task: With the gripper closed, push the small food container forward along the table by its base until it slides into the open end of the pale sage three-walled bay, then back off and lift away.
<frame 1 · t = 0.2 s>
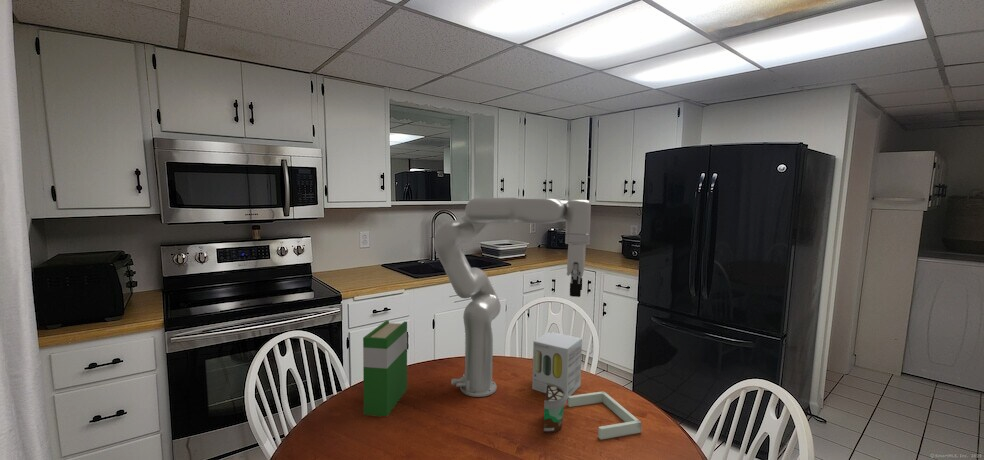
hand: (576, 293, 126), 37 cm above the table, tool pointing down, fingers open, 9 cm apart
hardback book: (386, 402, 129), on the table
bay: (600, 418, 121), on the table
supplement box: (556, 388, 141), on the table
food container: (555, 426, 116), on the table
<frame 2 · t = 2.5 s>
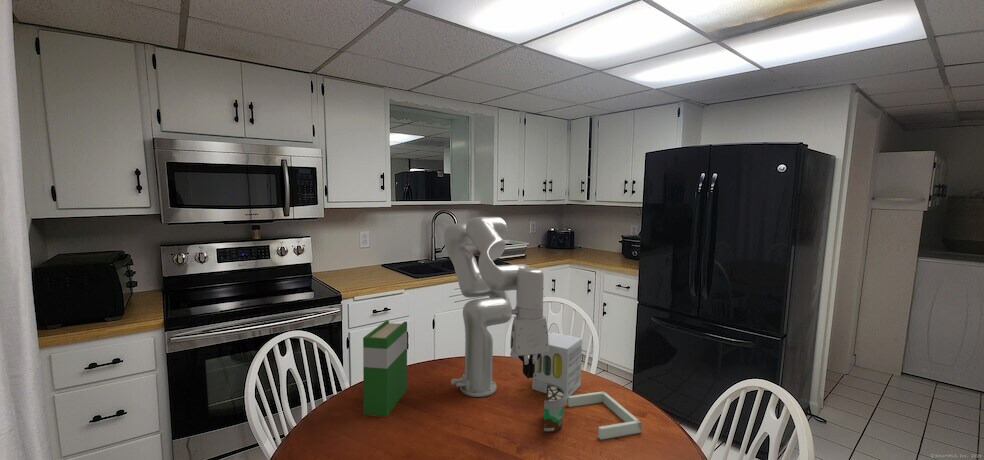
hand: (528, 376, 112), 16 cm above the table, tool pointing down, fingers closed
nothing on the table moved.
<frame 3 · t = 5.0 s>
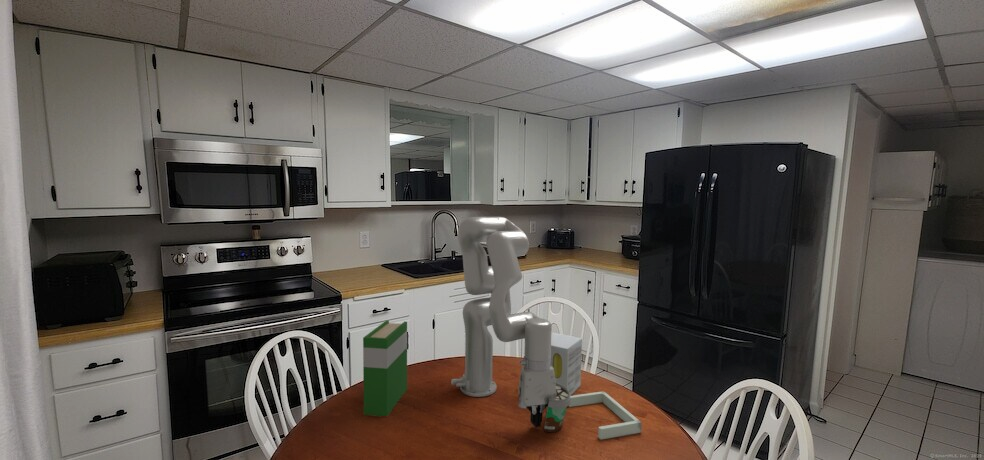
hand: (536, 424, 114), 1 cm above the table, tool pointing down, fingers closed
food container: (555, 425, 116), on the table, touching gripper
everything else where it was.
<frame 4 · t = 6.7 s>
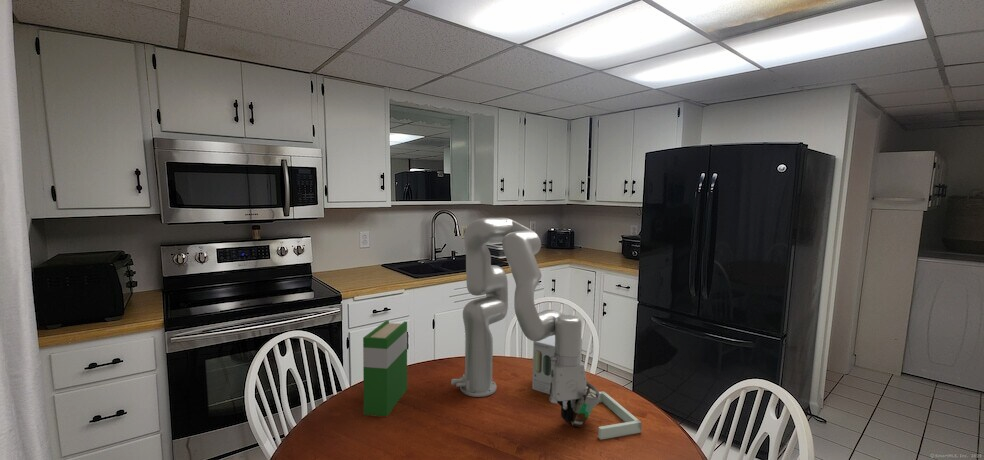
hand: (566, 419, 117), 2 cm above the table, tool pointing down, fingers closed
food container: (577, 419, 119), on the table, touching gripper
everything else where it was.
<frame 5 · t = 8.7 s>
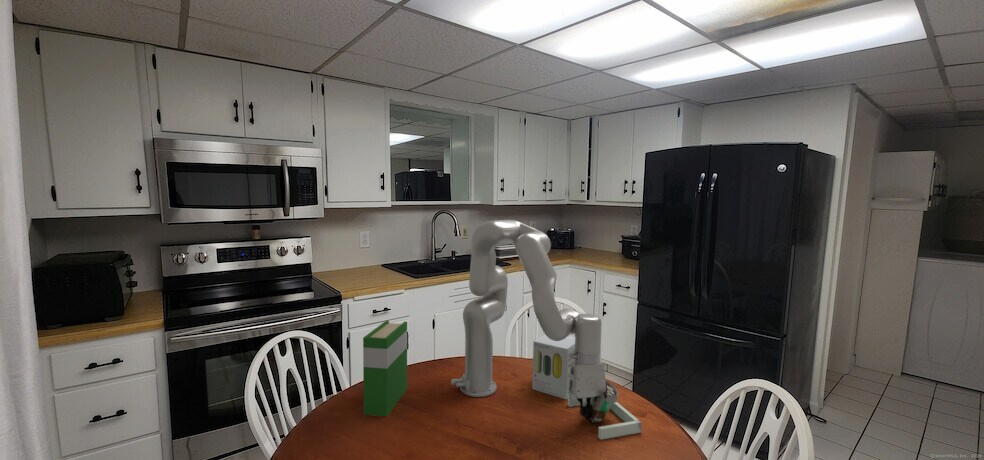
hand: (585, 416, 119), 2 cm above the table, tool pointing down, fingers closed
food container: (595, 415, 121), on the table, touching gripper
everything else where it was.
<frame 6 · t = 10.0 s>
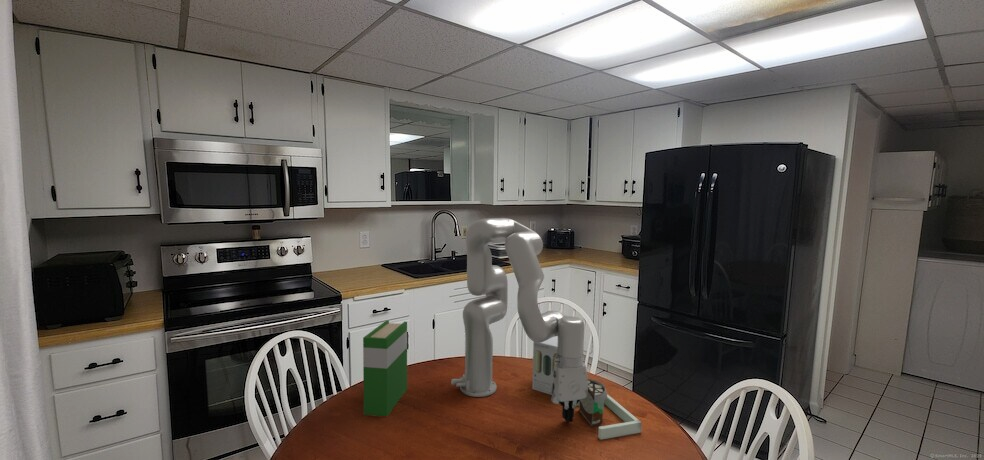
hand: (567, 419, 118), 1 cm above the table, tool pointing down, fingers closed
food container: (594, 417, 121), on the table
everything else where it was.
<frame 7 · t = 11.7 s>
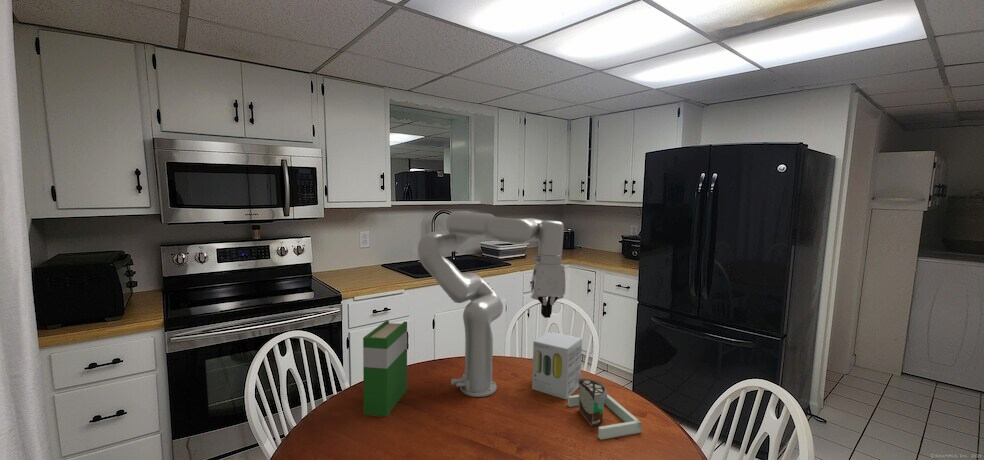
hand: (546, 316, 127), 29 cm above the table, tool pointing down, fingers closed
nothing on the table moved.
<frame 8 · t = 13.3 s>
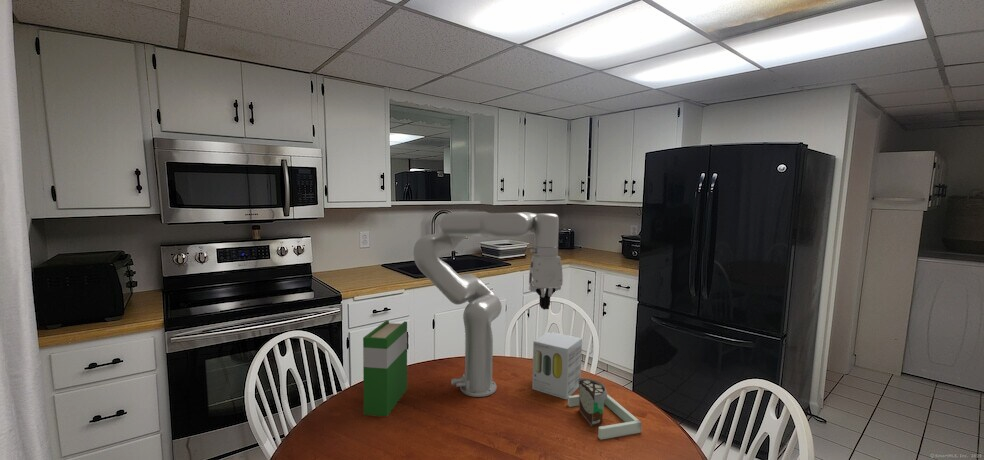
hand: (544, 308, 128), 31 cm above the table, tool pointing down, fingers closed
nothing on the table moved.
at the end: food container inside the target area on the bay (1.8 cm from its centre), point 0.0 cm above the bay's base; food container tilted 0°; food container moved 13.7 cm from its start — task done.
